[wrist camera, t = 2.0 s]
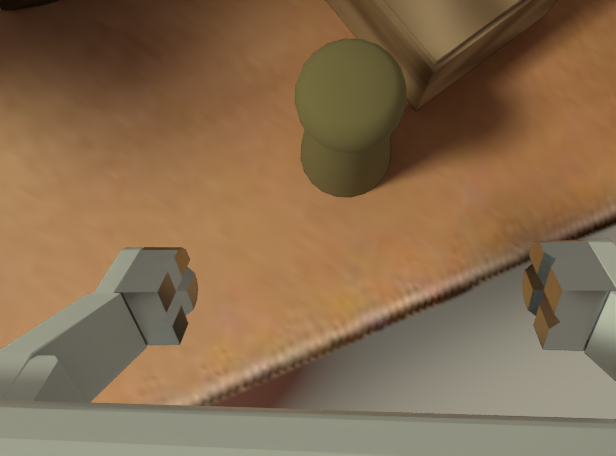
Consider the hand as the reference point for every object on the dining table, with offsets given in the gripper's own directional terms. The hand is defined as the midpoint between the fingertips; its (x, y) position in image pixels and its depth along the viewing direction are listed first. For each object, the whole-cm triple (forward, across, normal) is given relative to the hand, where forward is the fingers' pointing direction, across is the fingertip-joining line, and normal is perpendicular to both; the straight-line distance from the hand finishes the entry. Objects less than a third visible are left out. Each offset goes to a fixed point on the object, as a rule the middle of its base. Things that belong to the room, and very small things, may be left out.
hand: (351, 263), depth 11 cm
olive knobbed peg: (+19, +1, +8) cm, 21 cm away
